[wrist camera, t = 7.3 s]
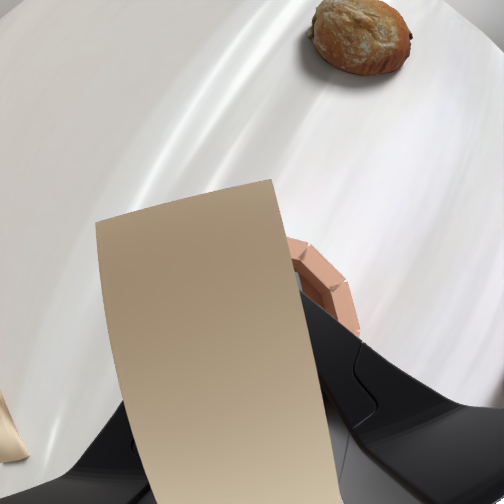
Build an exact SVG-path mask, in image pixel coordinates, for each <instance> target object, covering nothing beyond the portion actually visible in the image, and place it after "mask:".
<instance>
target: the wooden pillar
mask: <svg viewBox="0 0 504 504" xmlns="http://www.w3.org/2000/svg"><path fill="white" fill-rule="evenodd" d="M95 225H96V239H97V251H98V261H99V271H100V279H101V287H102V295H103V302H104V309H105V315H106V321H107V327H108V333H109V338H110V343H111V349H112V354H113V358H114V363H115V368H116V372H117V377H118V381H119V385H120V389H121V393H122V397H123V401H124V405H125V409H126V412H127V416H128V420H129V423H130V426H131V430H132V433H133V436H134V440H135V443H136V446H137V449H138V452H139V455H140V458H141V461H142V464H143V467H144V470H145V473H146V475H147V478H148V481H149V483H150V486H151V489H152V491H153V494H154V496H155V499H156V501H157V504H342V503H341V497H340V491H339V485H338V479H337V474H336V468H335V462H334V457H333V451H332V446H331V440H330V435H329V430H328V424H327V419H326V414H325V409H324V404H323V399H322V394H321V389H320V384H319V379H318V374H317V370H316V365H315V360H314V355H313V351H312V346H311V342H310V337H309V332H308V328H307V323H306V319H305V315H304V310H303V306H302V301H301V297H300V293H299V290H301V291H302V287H301V283H300V279H299V275H298V272H295V271H294V267H293V263H292V259H291V255H290V251H289V247H288V243H287V238H286V234H285V230H284V226H283V222H282V218H281V215H280V211H279V207H278V203H277V199H276V195H275V191H274V187H273V184H272V180H271V179H269V180H264V181H259V182H254V183H249V184H245V185H240V186H236V187H231V188H227V189H222V190H218V191H213V192H209V193H205V194H201V195H196V196H192V197H188V198H184V199H180V200H176V201H172V202H168V203H164V204H160V205H157V206H153V207H149V208H145V209H142V210H138V211H134V212H131V213H127V214H123V215H120V216H116V217H113V218H109V219H106V220H102V221H99V222H96V223H95ZM302 292H303V291H302Z"/></svg>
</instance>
